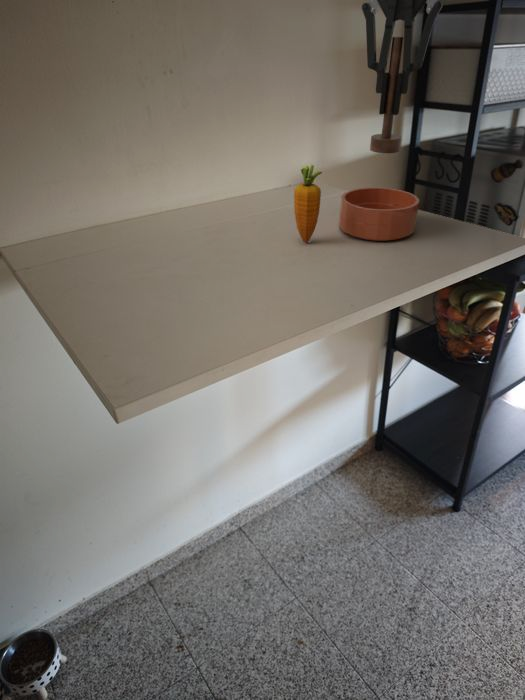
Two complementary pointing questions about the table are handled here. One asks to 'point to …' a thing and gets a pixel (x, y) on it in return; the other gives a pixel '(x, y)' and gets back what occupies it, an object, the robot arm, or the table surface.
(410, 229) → the bowl
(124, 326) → the table surface
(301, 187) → the carrot
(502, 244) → the table surface
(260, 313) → the table surface
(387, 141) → the dark brown rod
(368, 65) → the robot arm
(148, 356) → the table surface
